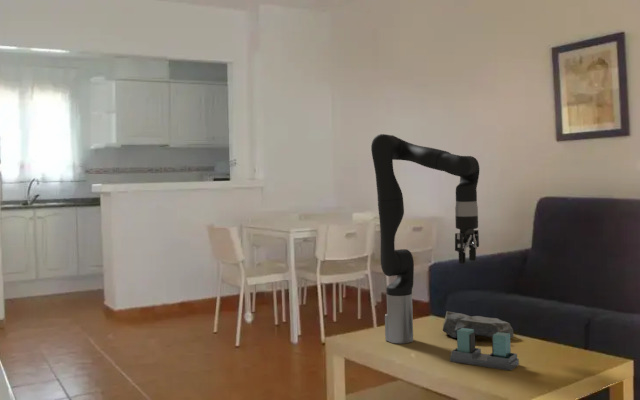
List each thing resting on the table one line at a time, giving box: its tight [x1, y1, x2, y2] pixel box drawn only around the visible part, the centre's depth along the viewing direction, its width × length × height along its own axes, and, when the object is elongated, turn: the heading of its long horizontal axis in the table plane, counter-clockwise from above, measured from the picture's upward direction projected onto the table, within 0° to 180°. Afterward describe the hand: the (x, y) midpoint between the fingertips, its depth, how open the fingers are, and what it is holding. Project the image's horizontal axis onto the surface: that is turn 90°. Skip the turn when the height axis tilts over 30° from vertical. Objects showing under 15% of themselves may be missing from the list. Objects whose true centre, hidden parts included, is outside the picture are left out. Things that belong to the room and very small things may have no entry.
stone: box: [442, 310, 515, 339], centre depth 250 cm, size 24×8×25 cm
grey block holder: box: [449, 332, 520, 371], centre depth 214 cm, size 20×7×10 cm, turn 54°
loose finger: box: [456, 328, 476, 353], centre depth 217 cm, size 4×4×8 cm
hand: (467, 261), depth 230 cm, fingers open, 8 cm apart
